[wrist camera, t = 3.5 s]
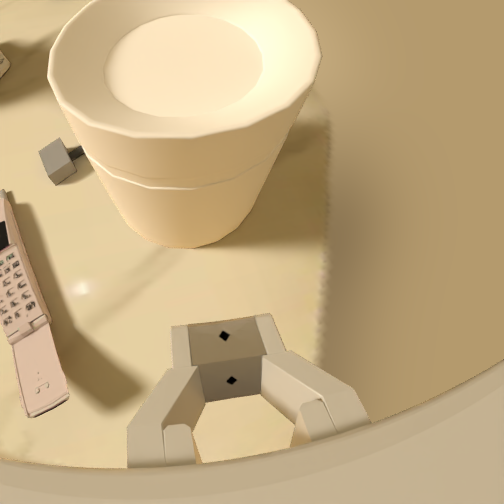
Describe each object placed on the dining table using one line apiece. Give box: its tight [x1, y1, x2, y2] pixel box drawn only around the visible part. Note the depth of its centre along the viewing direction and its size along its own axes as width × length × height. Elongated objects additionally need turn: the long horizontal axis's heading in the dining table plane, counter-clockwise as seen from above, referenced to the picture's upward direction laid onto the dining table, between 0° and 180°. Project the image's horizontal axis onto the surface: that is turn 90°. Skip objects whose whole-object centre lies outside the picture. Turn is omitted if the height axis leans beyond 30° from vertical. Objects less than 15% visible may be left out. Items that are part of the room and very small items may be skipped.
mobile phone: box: [0, 189, 70, 418], centre depth 25 cm, size 6×6×25 cm
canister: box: [47, 0, 322, 248], centre depth 24 cm, size 16×16×20 cm
